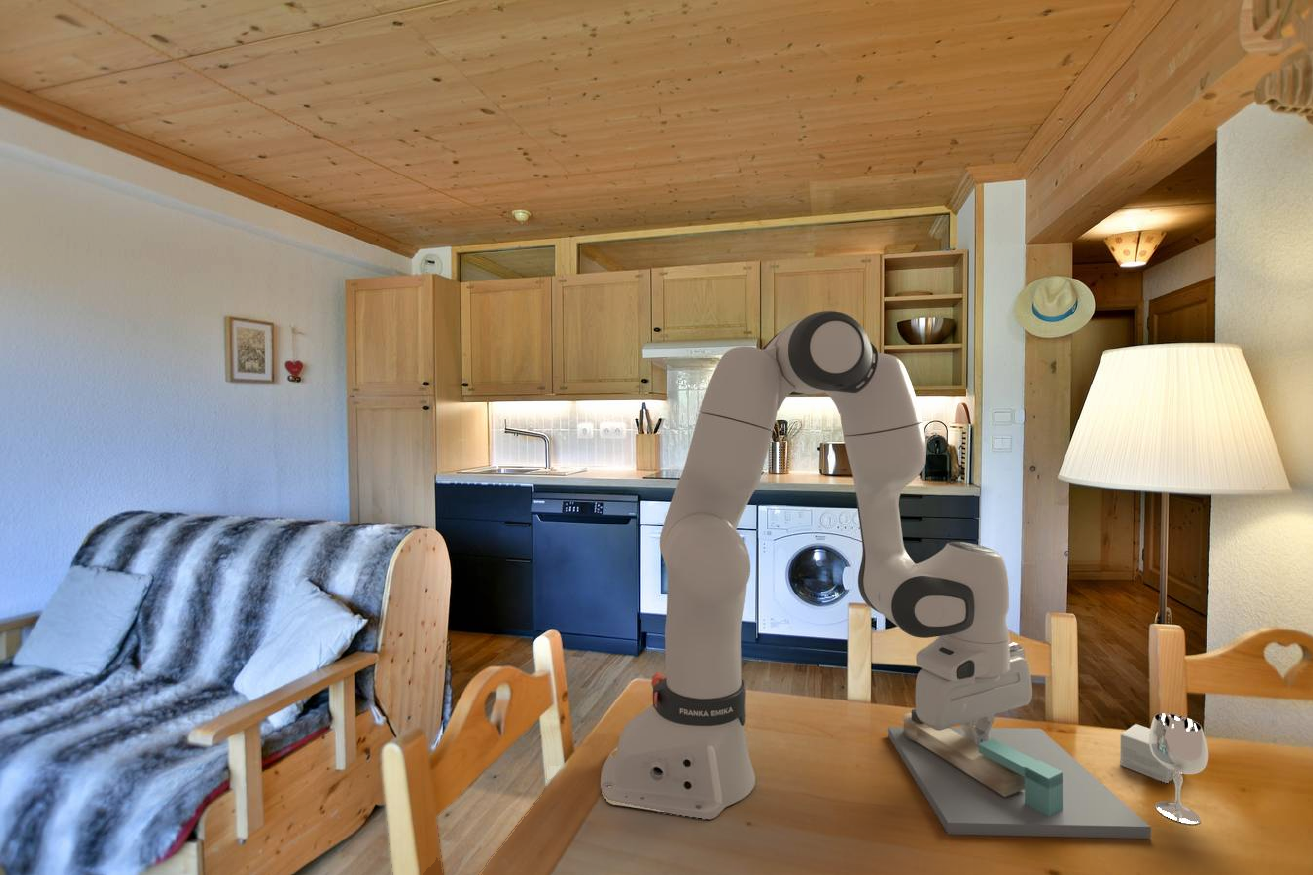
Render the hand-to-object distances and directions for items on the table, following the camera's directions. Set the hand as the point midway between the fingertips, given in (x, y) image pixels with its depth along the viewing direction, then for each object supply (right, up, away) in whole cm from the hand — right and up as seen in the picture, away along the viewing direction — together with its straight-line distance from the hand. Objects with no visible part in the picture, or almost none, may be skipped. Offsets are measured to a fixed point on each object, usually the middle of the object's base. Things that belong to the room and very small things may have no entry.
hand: (976, 743), depth 88 cm
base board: (+1, -3, -4) cm, 5 cm away
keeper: (+1, -2, -9) cm, 9 cm away
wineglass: (+20, -3, -12) cm, 23 cm away
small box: (+24, -3, -2) cm, 25 cm away
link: (-4, -1, -1) cm, 4 cm away
